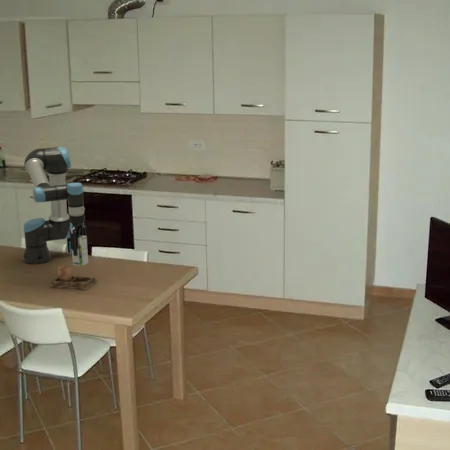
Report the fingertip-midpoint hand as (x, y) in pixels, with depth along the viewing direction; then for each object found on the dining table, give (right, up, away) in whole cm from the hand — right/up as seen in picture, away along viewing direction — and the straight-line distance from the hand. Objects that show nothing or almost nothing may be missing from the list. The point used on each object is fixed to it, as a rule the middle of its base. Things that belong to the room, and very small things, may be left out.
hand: (80, 259), depth 347 cm
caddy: (-4, -13, +5) cm, 15 cm away
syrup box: (0, -3, +1) cm, 3 cm away
